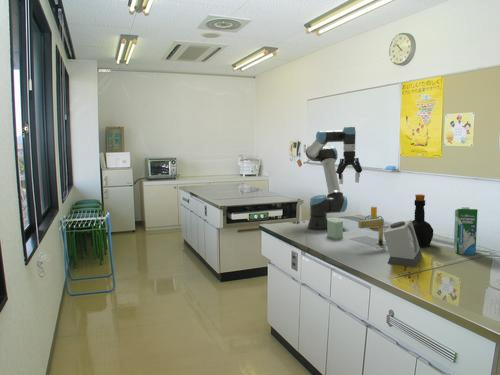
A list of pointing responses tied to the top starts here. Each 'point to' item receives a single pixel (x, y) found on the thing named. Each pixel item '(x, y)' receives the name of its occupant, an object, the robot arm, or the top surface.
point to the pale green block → (335, 228)
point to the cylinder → (373, 216)
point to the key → (373, 223)
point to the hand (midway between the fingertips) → (349, 183)
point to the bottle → (421, 223)
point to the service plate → (369, 241)
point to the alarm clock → (402, 244)
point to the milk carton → (465, 231)
